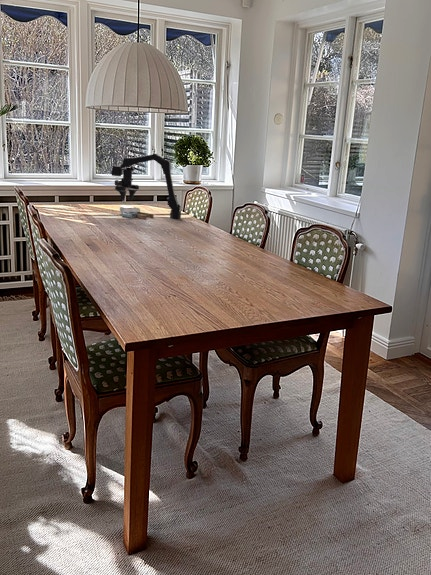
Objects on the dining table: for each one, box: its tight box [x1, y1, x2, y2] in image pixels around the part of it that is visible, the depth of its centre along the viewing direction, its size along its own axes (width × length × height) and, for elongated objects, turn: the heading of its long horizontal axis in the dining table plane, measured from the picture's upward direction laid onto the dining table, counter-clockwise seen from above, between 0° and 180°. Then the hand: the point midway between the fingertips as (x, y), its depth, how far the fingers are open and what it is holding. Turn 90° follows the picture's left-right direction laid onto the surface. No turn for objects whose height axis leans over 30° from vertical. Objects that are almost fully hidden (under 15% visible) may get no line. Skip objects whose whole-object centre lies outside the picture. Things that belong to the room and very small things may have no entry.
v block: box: [121, 212, 138, 220], centre depth 347 cm, size 8×6×3 cm
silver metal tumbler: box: [119, 204, 141, 214], centre depth 355 cm, size 13×6×6 cm, turn 62°
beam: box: [120, 211, 154, 220], centre depth 353 cm, size 22×9×3 cm, turn 61°
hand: (126, 200), depth 354 cm, fingers open, 8 cm apart
